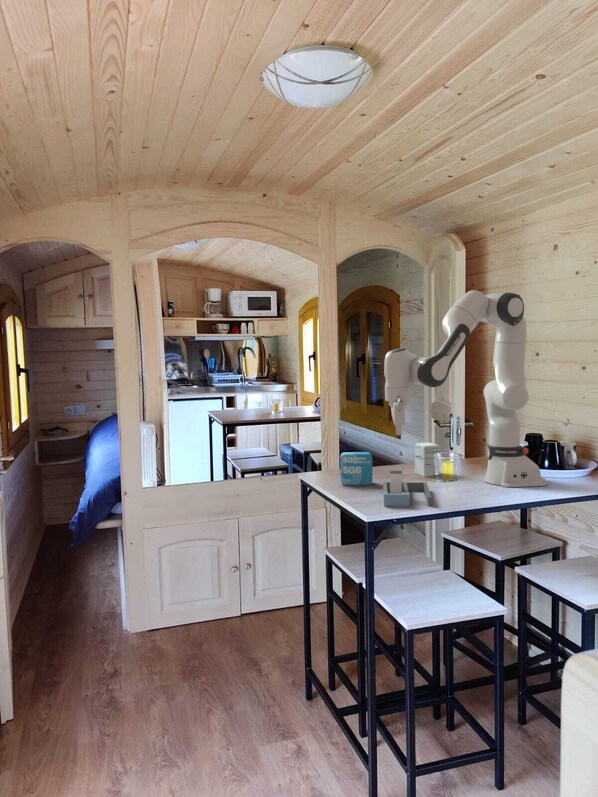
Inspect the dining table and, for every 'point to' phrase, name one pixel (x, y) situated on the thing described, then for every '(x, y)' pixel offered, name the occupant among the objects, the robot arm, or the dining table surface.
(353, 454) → the data package
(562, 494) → the dining table surface
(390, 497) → the grey open compartment holder
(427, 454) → the supplement box
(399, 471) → the beige rectangular block
